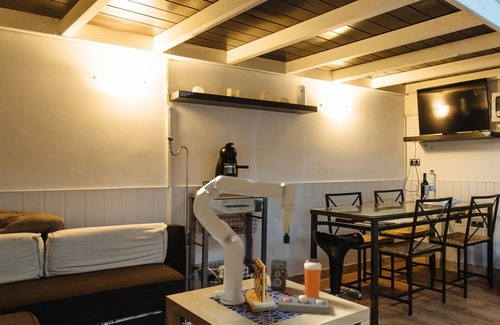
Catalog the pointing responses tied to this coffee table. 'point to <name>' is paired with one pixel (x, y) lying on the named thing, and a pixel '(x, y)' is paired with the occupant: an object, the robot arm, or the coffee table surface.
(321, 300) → the button sage
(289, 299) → the button rust
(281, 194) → the robot arm
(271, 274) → the camera
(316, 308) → the panel
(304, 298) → the button cream
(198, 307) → the coffee table surface
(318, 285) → the shaker bottle
